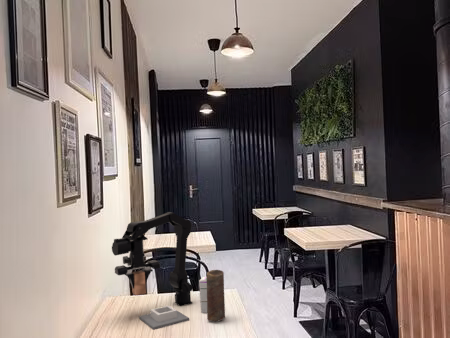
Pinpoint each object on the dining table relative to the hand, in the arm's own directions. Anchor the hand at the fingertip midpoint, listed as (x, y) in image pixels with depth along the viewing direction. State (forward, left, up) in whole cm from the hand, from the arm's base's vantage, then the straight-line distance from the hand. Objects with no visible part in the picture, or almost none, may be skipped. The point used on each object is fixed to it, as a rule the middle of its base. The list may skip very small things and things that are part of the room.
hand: (138, 287), depth 179 cm
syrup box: (-27, +13, -13) cm, 32 cm away
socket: (-7, +10, -13) cm, 18 cm away
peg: (0, 0, -3) cm, 3 cm away
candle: (-24, +25, -13) cm, 37 cm away
